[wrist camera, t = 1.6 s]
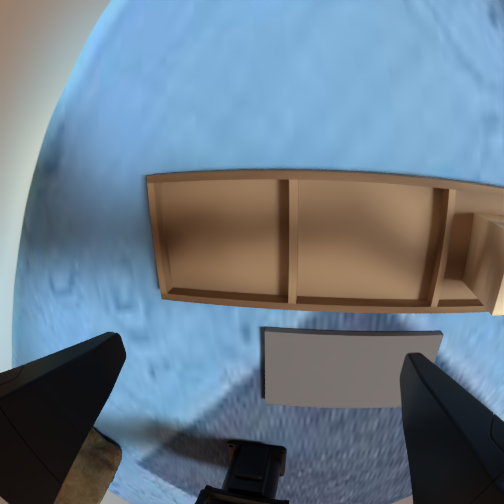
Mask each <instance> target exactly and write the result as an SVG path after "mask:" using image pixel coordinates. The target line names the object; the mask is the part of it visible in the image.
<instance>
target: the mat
mask: <svg viewBox="0 0 504 504" xmlns="http://www.w3.org/2000/svg"><path fill="white" fill-rule="evenodd" d="M442 338H443V333H442V332H441V331H416V332H365V331H328V330H306V329H289V328H273V327H266V328H265V403H267V404H277V405H289V406H304V407H325V408H385V407H402V405H401V392H400V373H401V370H402V366H403V362H404V359H405V356H406V354H407V353H413V352H420V353H421V354H423V355H424V356H425V357H426V358H428V359H429V360H430V361H431V362H433V363H434V361H435V359H436V356H437V353H438V350H439V347H440V344H441V341H442Z"/></svg>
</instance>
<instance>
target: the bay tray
mask: <svg viewBox="0 0 504 504" xmlns="http://www.w3.org/2000/svg"><path fill="white" fill-rule="evenodd" d="M147 188H148V199H149V209H150V218H151V227H152V235H153V243H154V251H155V258H156V265H157V272H158V278H159V285H160V291H161V297H162V299H165V300H174V301H184V302H194V303H204V304H215V305H227V306H239V307H252V308H267V309H283V310H301V311H323V312H351V313H467V312H489V311H488V310H487V309H486V308H485V306H484V305H483V304H482V303H481V302H480V300H479V299H478V298H477V297H476V296H475V295H474V294H473V292H472V291H471V290H470V289H469V288H468V287H467V286H466V285H465V283H464V282H463V281H462V279H463V275H464V270H465V265H466V260H467V255H468V250H469V244H470V238H471V231H472V224H473V216H474V213H483V214H492V215H500V216H504V187H500V186H493V185H487V184H481V183H474V182H467V181H459V180H451V179H443V178H434V177H425V176H415V175H404V174H392V173H378V172H362V171H342V170H312V169H240V170H210V171H189V172H173V173H159V174H153V175H149V176H147Z"/></svg>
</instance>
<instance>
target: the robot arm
mask: <svg viewBox="0 0 504 504" xmlns="http://www.w3.org/2000/svg"><path fill="white" fill-rule="evenodd" d="M125 360H126V351H125V348H124V345H123V342H122V338H121V336H120V335H119V334H118V333H114V332H106V333H104V334H101V335H99V336H96V337H94V338H91V339H89V340H86V341H84V342H81V343H79V344H76V345H73V346H71V347H68V348H66V349H63V350H61V351H58V352H56V353H53V354H50V355H48V356H45V357H43V358H40V359H37V360H35V361H32V362H30V363H27V364H26V365H22V366H19V367H16V368H13V369H11V370H8V371H5V372H2V373H0V504H54V502H55V500H56V498H57V496H58V494H59V492H60V489H61V487H62V484H63V483H64V481H65V479H66V477H67V475H68V473H69V471H70V469H71V467H72V465H73V463H74V461H75V459H76V457H77V455H78V453H79V451H80V449H81V447H82V446H83V444H84V442H85V440H86V438H87V436H88V434H89V432H90V430H91V429H92V427H93V425H94V423H95V421H96V419H97V418H98V416H99V414H100V412H101V410H102V408H103V407H104V405H105V403H106V401H107V399H108V398H109V396H110V394H111V392H112V389H113V387H114V385H115V383H116V380H117V378H118V376H119V373H120V371H121V369H122V366H123V364H124V362H125ZM400 392H401V405H402V421H403V429H404V435H405V441H406V448H407V454H408V461H409V468H410V476H411V485H412V494H413V504H504V421H502V420H501V419H500V418H499V417H498V416H497V415H495V414H494V415H493V412H492V411H491V410H489V409H488V408H487V407H486V406H485V405H483V404H482V403H481V402H480V401H479V400H478V399H476V398H475V397H474V396H473V395H472V394H470V393H469V392H468V391H467V390H466V389H464V388H463V387H462V386H461V385H459V384H458V383H457V382H456V381H455V380H453V379H452V378H451V377H450V376H449V375H447V374H446V373H445V372H444V371H442V370H441V369H440V368H439V367H438V366H436V365H435V364H434V363H433V362H431V361H430V360H429V359H428V358H426V357H425V356H424V355H423V354H421V353H420V352H413V353H407V354H406V356H405V359H404V362H403V366H402V370H401V373H400ZM227 450H228V456H229V462H230V464H229V467H228V471H227V474H226V477H225V480H224V483H223V486H222V489H218V488H214V487H212V486H209V485H206V487H205V489H203V490H201V491H200V494H199V496H198V499H197V501H196V503H195V504H289V500H276V499H275V496H276V491H277V486H278V481H279V476H284V472H285V462H286V453H287V449H286V448H282V447H272V446H263V445H255V444H248V443H241V442H234V441H228V443H227Z"/></svg>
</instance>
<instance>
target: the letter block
mask: <svg viewBox="0 0 504 504" xmlns="http://www.w3.org/2000/svg"><path fill="white" fill-rule="evenodd" d="M462 281H463V282H464V283H465V285H466V286H467V287H468V288H469V289H470V290H471V291H472V292H473V294H474V295H475V296H476V297H477V298H478V299H479V300H480V302H481V303H482V304H483V305H484V306H485V308H486V309H487V310H488V311H489V312H490V314H491V315H504V216H500V215H492V214H483V213H474V216H473V224H472V231H471V238H470V244H469V250H468V255H467V260H466V265H465V270H464V275H463V279H462Z"/></svg>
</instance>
